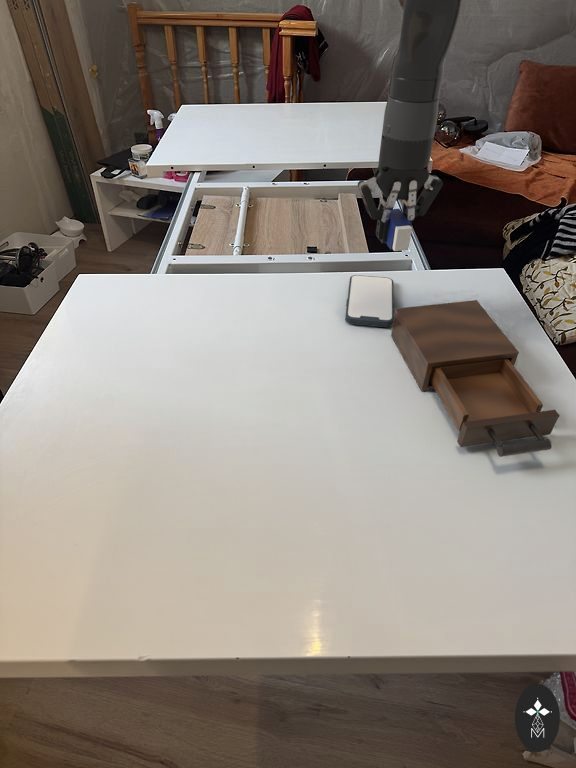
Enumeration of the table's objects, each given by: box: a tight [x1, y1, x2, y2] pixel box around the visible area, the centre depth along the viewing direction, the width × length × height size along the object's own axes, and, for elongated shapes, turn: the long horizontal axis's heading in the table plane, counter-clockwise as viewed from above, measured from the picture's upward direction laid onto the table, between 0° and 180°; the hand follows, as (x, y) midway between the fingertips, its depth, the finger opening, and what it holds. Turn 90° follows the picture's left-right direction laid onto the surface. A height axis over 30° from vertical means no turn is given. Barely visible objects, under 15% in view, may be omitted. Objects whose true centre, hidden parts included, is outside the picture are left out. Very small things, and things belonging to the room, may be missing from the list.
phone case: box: [344, 274, 395, 328], centre depth 101 cm, size 9×2×16 cm
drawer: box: [430, 358, 560, 458], centre depth 77 cm, size 18×14×4 cm
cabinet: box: [390, 299, 520, 392], centre depth 88 cm, size 15×15×6 cm
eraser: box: [385, 208, 413, 252], centre depth 87 cm, size 3×7×4 cm, turn 11°
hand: (392, 239), depth 89 cm, fingers closed on eraser, 3 cm apart
